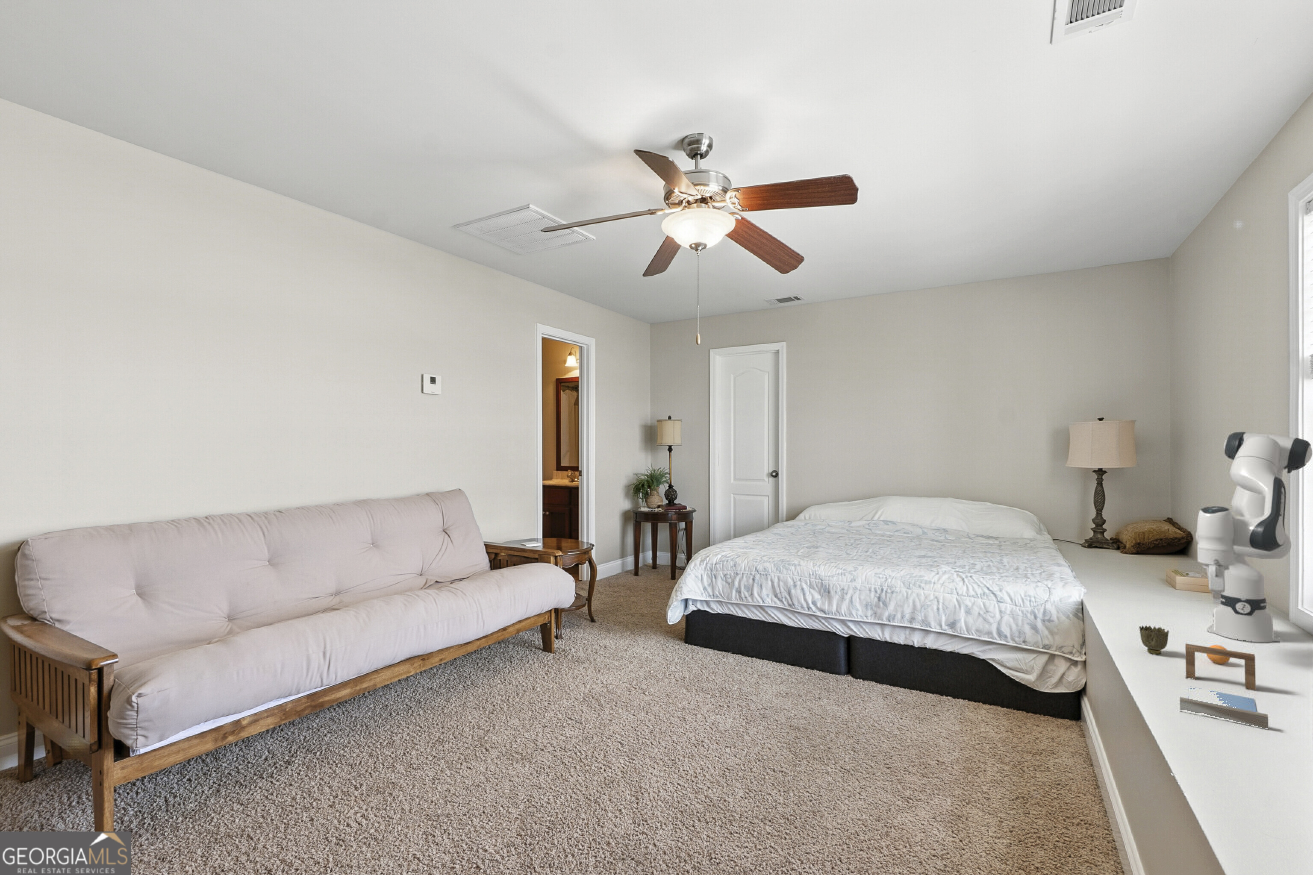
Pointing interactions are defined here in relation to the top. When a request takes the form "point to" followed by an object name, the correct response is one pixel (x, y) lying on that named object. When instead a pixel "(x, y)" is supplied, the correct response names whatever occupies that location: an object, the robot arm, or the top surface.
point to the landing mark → (1236, 701)
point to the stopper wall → (1225, 712)
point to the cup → (1154, 639)
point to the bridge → (1249, 658)
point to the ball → (1217, 658)
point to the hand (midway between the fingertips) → (1216, 601)
